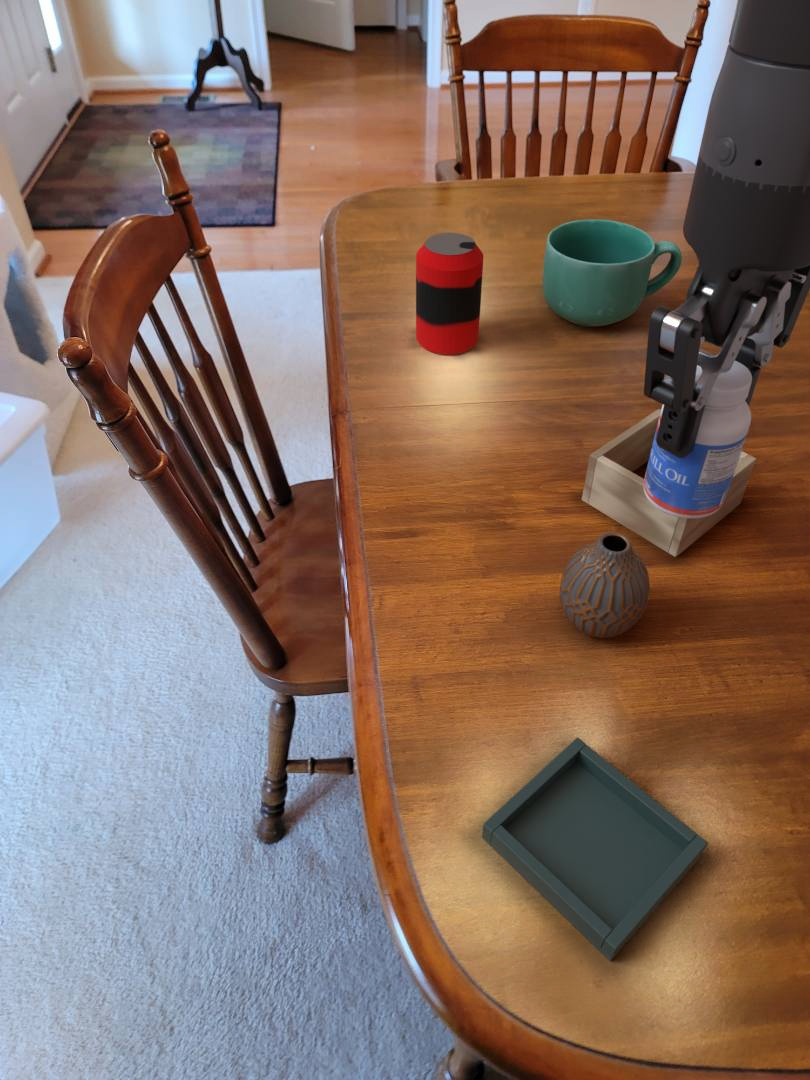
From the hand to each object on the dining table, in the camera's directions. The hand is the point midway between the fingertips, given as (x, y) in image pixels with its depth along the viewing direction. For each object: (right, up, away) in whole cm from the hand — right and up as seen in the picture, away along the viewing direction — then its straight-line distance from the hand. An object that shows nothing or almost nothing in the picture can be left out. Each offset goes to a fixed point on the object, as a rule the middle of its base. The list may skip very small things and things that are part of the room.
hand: (701, 430), depth 53 cm
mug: (+6, +22, +52) cm, 57 cm away
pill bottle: (0, -4, +4) cm, 6 cm away
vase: (-3, -14, +16) cm, 21 cm away
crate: (+5, -3, +26) cm, 27 cm away
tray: (-7, -27, +2) cm, 28 cm away
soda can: (-14, +17, +48) cm, 53 cm away
